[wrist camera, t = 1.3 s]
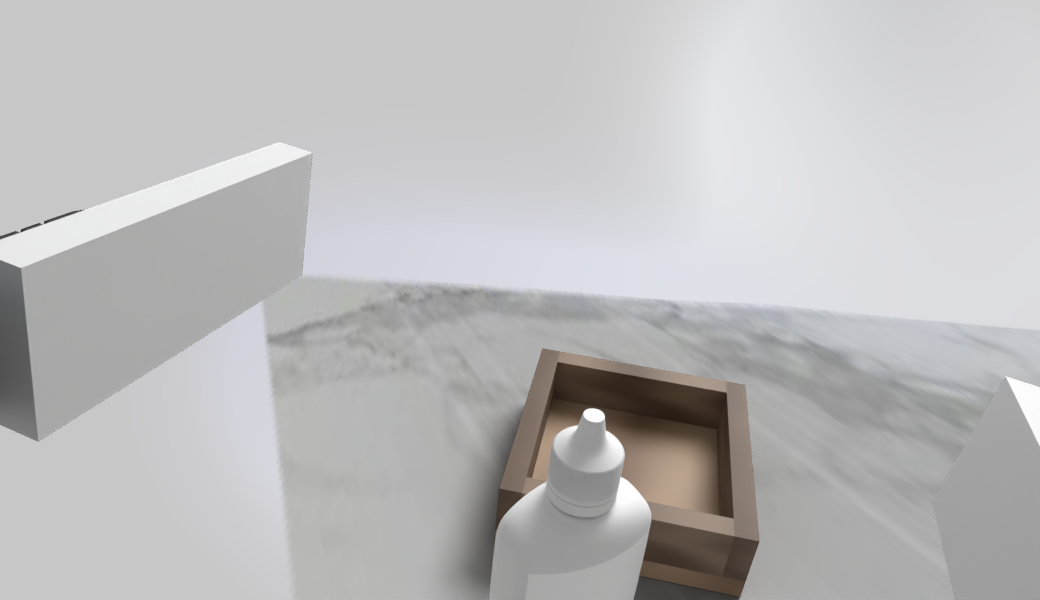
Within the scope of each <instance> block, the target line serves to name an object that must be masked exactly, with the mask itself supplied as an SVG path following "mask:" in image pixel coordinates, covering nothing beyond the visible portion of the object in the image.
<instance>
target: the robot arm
mask: <svg viewBox="0 0 1040 600" xmlns="http://www.w3.org/2000/svg"><path fill="white" fill-rule="evenodd" d="M312 154H313V153H311V152H308V151H305V150H302V149H299V148H296V147H293V146H289V145H287V144H284V143H280V142H278V143H275V144H273V145H270V146H267V147H264V148H261V149H258V150H255V151H252V152H249V153H247V154H244V155H241V156H238V157H235V158H233V159H229V160H227V161H224V162H221V163H218V164H215V165H212V166H209V167H207V168H204V169H201V170H198V171H195V172H192V173H190V174H186V175H184V176H181V177H178V178H175V179H172V180H170V181H166V182H164V183H161V184H158V185H155V186H152V187H149V188H146V189H144V190H141V191H138V192H135V193H132V194H129V195H126V196H124V197H121V198H118V199H115V200H112V201H109V202H106V203H103V204H101V205H98V206H95V207H92V208H89V209H86V210H80V211H73V212H70V213H67V214H64V215H61V216H58V217H56V218H52V219H49V220H47V221H44V224H40V223H38V224H35V225H32V226H29V227H26V228H24V229H21V232H20V233H19V232H16V231H15V232H12V233H9V234H6V235H3V236H0V425H2V426H4V427H6V428H9V429H11V430H13V431H16V432H18V433H20V434H22V435H25V436H27V437H29V438H31V439H33V440H36V441H40V440H42V439H43V438H45V437H46V436H48V435H50V434H51V433H53V432H55V431H56V430H58V429H59V428H61V427H62V426H64V425H66V424H67V423H69V422H70V421H72V420H74V419H75V418H77V417H78V416H80V415H81V414H83V413H85V412H86V411H88V410H89V409H91V408H93V407H94V406H96V405H97V404H99V403H100V402H102V401H104V400H105V399H107V398H108V397H110V396H112V395H113V394H115V393H116V392H118V391H120V390H121V389H123V388H124V387H126V386H127V385H129V384H130V383H132V382H134V381H135V380H137V379H138V378H140V377H142V376H143V375H145V374H146V373H148V372H149V371H151V370H153V369H154V368H156V367H158V366H159V365H161V364H162V363H164V362H165V361H167V360H168V359H170V358H171V357H173V356H175V355H177V354H178V353H180V352H181V351H183V350H184V349H186V348H188V347H189V346H191V345H192V344H194V343H195V342H197V341H199V340H200V339H202V338H203V337H205V336H207V335H208V334H210V333H211V332H213V331H214V330H216V329H218V328H219V327H221V326H222V325H224V324H225V323H227V322H229V321H230V320H231V319H233V318H235V317H236V316H238V315H240V314H241V313H243V312H245V311H246V310H248V309H249V308H251V307H252V306H254V305H256V304H257V303H259V302H260V301H262V300H264V299H265V298H267V297H268V296H270V295H272V294H273V293H275V292H276V291H278V290H279V289H281V288H283V287H284V286H286V285H287V284H289V283H291V282H292V281H294V280H295V279H297V278H298V277H300V276H302V271H303V259H304V247H305V236H306V224H307V212H308V200H309V189H310V177H311V165H312ZM932 504H933V508H934V512H935V516H936V521H937V525H938V529H939V533H940V537H941V541H942V546H943V550H944V554H945V558H946V562H947V567H948V571H949V575H950V579H951V583H952V587H953V592H954V596H955V600H1040V387H1037V386H1034V385H1031V384H1028V383H1025V382H1022V381H1019V380H1015V379H1012V378H1009V377H1006V376H1005V378H1004V380H1003V382H1002V383H1001V385H1000V387H999V388H998V390H997V392H996V393H995V395H994V397H993V399H992V400H991V402H990V404H989V405H988V407H987V409H986V410H985V412H984V414H983V415H982V417H981V419H980V421H979V422H978V424H977V426H976V427H975V429H974V431H973V432H972V434H971V436H970V437H969V439H968V441H967V443H966V444H965V446H964V448H963V449H962V451H961V453H960V454H959V456H958V458H957V460H956V461H955V463H954V465H953V466H952V468H951V470H950V471H949V473H948V475H947V476H946V478H945V480H944V482H943V483H942V485H941V487H940V488H939V490H938V492H937V493H936V495H935V497H934V498H933V500H932Z"/></svg>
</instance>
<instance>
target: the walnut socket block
mask: <svg viewBox="0 0 1040 600" xmlns="http://www.w3.org/2000/svg"><path fill="white" fill-rule="evenodd" d="M590 408H594V409H598V410H600V411H602V412H603V413H604V415H605V427H606V431H608V432H609V433H611V434H612V435H614V436H615V437H616V438H617V439H618V440H619V441H620V443H621V444H622V446H623V449H624V452H625V453H624V454H625V459H624V464H623V469H622V474H621V477H622V478H624V479H626V480H627V481H629V482H630V483H631V484H632V485H633V486H634V487H635V488H636V490H637V491H638V492H639V493H640V494H641V495H642V497H643V498H644V499H645V501H646V502H647V504H648V506H649V508H650V511H651V525H650V530H649V535H648V540H647V544H646V549H645V553H644V557H643V562H642V566H641V570H640V575H639V576H644V577H648V578H653V579H658V580H662V581H667V582H672V583H676V584H681V585H686V586H690V587H695V588H700V589H705V590H709V591H714V592H719V593H723V594H728V595H733V596H737V597H740V596H741V593H742V590H743V587H744V584H745V581H746V578H747V575H748V573H749V570H750V567H751V564H752V561H753V558H754V555H755V552H756V550H757V547H758V544H759V532H758V521H757V510H756V499H755V488H754V477H753V466H752V454H751V443H750V432H749V421H748V410H747V399H746V388H745V385H743V384H737V383H732V382H726V381H721V380H715V379H710V378H704V377H698V376H693V375H687V374H682V373H676V372H671V371H665V370H659V369H654V368H648V367H643V366H637V365H632V364H626V363H621V362H615V361H609V360H604V359H598V358H593V357H587V356H582V355H576V354H570V353H565V352H559V351H554V350H548V349H543V348H542V351H541V355H540V358H539V361H538V364H537V368H536V371H535V374H534V377H533V381H532V384H531V387H530V390H529V394H528V397H527V400H526V403H525V407H524V410H523V413H522V416H521V420H520V423H519V426H518V429H517V433H516V436H515V439H514V442H513V446H512V449H511V452H510V455H509V459H508V462H507V465H506V468H505V472H504V475H503V478H502V481H501V485H500V488H499V498H498V508H497V519H496V530H495V539H496V532H497V529H498V526H499V523H500V521H501V519H502V518H503V517H504V515H505V514H506V513H507V512H508V511H509V510H510V509H511V508H512V507H513V506H514V505H515V504H516V503H517V502H518V501H519V500H520V499H521V498H523V497H524V496H525V495H526V494H528V493H529V492H530V491H532V490H533V489H535V488H536V487H538V486H539V485H541V484H543V483H545V482H547V476H548V468H549V461H550V453H551V446H552V442H553V439H554V437H556V435H557V434H558V433H559V432H560V431H562V430H564V429H566V428H568V427H571V426H576V425H579V422H580V420H581V417H582V415H583V413H584V411H585V410H587V409H590ZM494 545H495V540H494Z"/></svg>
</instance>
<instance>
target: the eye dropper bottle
mask: <svg viewBox="0 0 1040 600" xmlns="http://www.w3.org/2000/svg"><path fill="white" fill-rule="evenodd" d="M624 453H625V452H624V449H623V446H622V444H621V443H620V441H619V440H618V439H617V438H616V437H615V436H614V435H612V434H611V433H609V432H608V431H606V427H605V415H604V413H603V412H602V411H600V410H598V409H594V408H590V409H587V410H585V411H584V413H583V415H582V417H581V420H580V422H579V425H576V426H571V427H568V428H566V429H564V430H562V431H560V432H559V433H558V434H557V435H556V437H554V439H553V442H552V446H551V453H550V461H549V468H548V476H547V482H545V483H543V484H541V485H539V486H538V487H536V488H535V489H533V490H532V491H530V492H529V493H528V494H526V495H525V496H524V497H523V498H521V499H520V500H519V501H518V502H517V503H516V504H515V505H514V506H513V507H512V508H511V509H510V510H509V511H508V512H507V513H506V514H505V515H504V517H503V518H502V519H501V521H500V523H499V526H498V529H497V532H496V539H495V546H494V554H493V564H492V574H491V583H490V593H489V600H634V596H635V591H636V587H637V583H638V579H639V575H640V570H641V566H642V562H643V557H644V553H645V549H646V544H647V540H648V535H649V530H650V525H651V511H650V508H649V506H648V504H647V502H646V501H645V499H644V498H643V497H642V495H641V494H640V493H639V492H638V491H637V490H636V488H635V487H634V486H633V485H632V484H631V483H630V482H629V481H627V480H626V479H624V478H622V477H621V474H622V469H623V464H624V459H625V454H624Z"/></svg>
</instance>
